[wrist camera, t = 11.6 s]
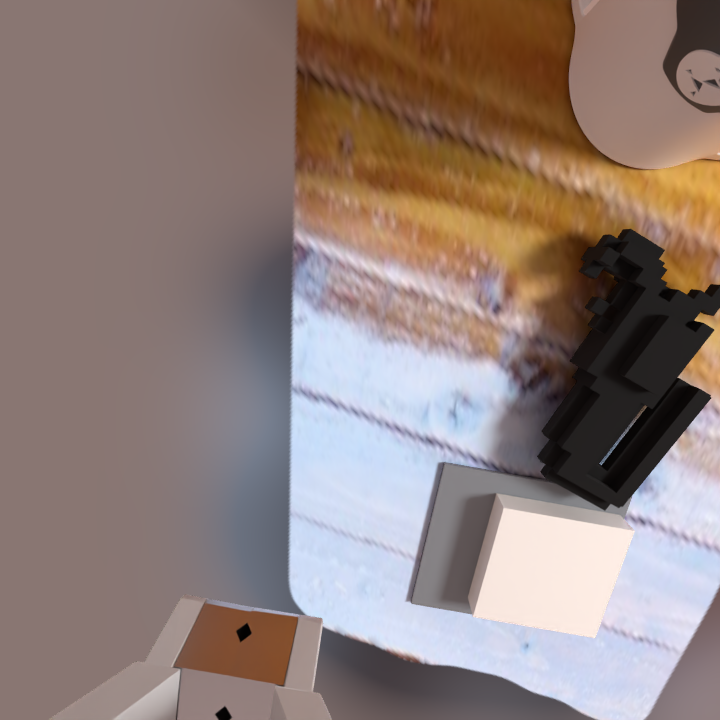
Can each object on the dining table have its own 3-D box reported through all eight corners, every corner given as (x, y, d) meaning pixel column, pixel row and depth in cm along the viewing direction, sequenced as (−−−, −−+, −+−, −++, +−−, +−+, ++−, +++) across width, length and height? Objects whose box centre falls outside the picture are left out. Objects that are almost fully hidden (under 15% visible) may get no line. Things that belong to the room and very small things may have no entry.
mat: (411, 600, 46) (411, 603, 45) (444, 462, 42) (444, 464, 42) (581, 630, 46) (582, 633, 45) (629, 494, 42) (631, 496, 42)
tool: (477, 447, 36) (628, 531, 37) (635, 219, 31) (800, 323, 33) (464, 423, 41) (597, 496, 42) (598, 224, 36) (742, 313, 38)
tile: (473, 616, 42) (595, 638, 43) (503, 507, 40) (634, 530, 40) (467, 596, 45) (583, 616, 45) (496, 493, 42) (619, 514, 42)
